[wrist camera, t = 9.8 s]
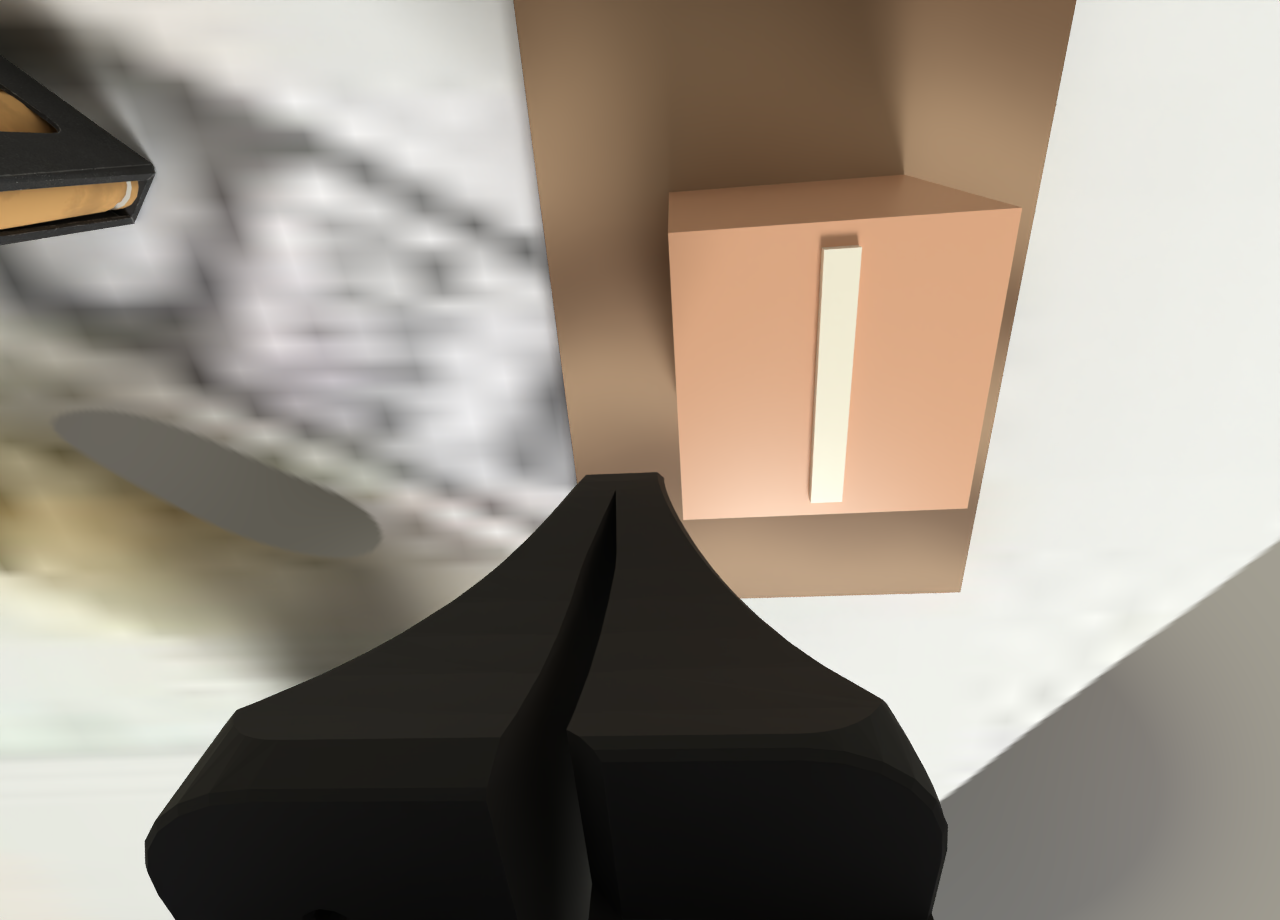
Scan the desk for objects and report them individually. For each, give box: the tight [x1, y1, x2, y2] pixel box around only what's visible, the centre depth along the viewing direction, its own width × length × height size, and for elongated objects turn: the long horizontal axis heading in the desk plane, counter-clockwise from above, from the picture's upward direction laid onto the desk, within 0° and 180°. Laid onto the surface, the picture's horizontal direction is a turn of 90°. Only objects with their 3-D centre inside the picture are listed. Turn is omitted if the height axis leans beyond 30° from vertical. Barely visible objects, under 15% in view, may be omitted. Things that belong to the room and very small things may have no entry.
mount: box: [513, 0, 1076, 598], centre depth 16 cm, size 20×12×6 cm, turn 4°
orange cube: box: [668, 175, 1022, 520], centre depth 15 cm, size 6×6×6 cm
